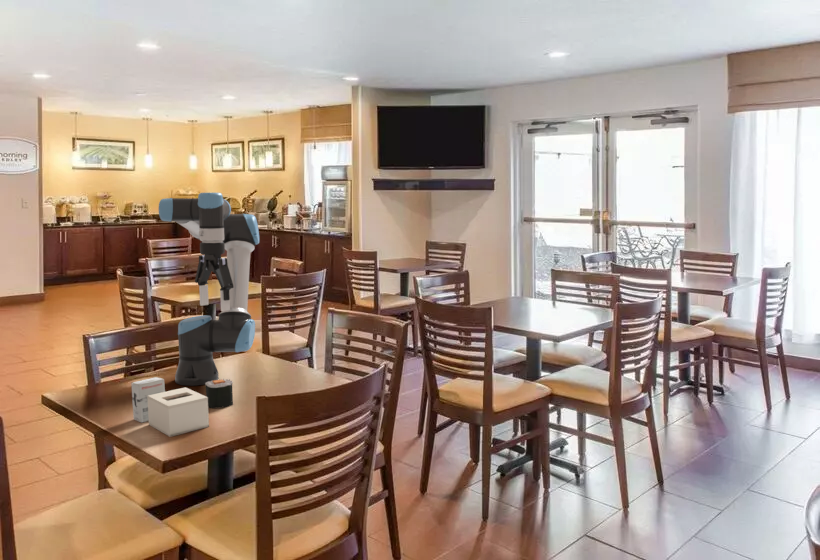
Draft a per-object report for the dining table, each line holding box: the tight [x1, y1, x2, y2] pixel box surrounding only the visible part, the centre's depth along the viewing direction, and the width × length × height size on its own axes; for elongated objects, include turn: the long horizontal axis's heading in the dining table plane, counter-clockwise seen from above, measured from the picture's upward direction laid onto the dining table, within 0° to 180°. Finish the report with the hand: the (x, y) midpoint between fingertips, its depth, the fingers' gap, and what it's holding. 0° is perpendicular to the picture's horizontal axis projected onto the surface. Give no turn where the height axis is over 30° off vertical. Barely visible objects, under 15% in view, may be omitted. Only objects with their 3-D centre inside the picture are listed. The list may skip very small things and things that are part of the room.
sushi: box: [204, 378, 234, 409], centre depth 225 cm, size 8×8×8 cm
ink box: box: [131, 376, 166, 424], centre depth 211 cm, size 8×5×12 cm, turn 140°
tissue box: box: [147, 387, 210, 438], centre depth 204 cm, size 14×12×9 cm
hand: (214, 307), depth 221 cm, fingers open, 13 cm apart
